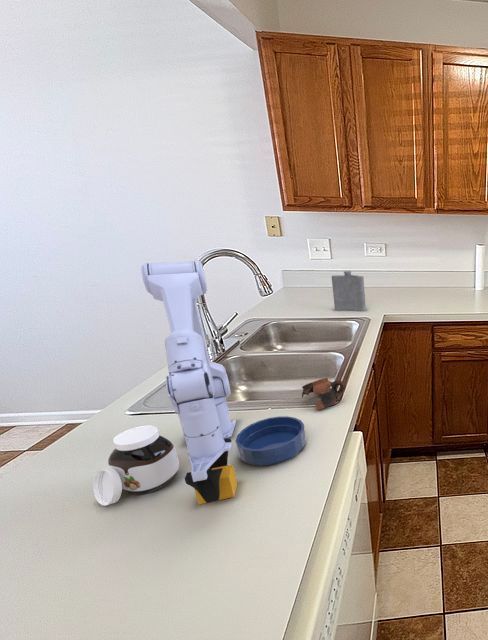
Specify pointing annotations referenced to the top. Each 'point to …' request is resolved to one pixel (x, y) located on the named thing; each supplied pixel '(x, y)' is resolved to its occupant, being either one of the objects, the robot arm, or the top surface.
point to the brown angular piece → (324, 392)
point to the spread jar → (136, 465)
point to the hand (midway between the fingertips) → (217, 487)
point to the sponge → (223, 484)
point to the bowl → (271, 440)
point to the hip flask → (348, 292)
